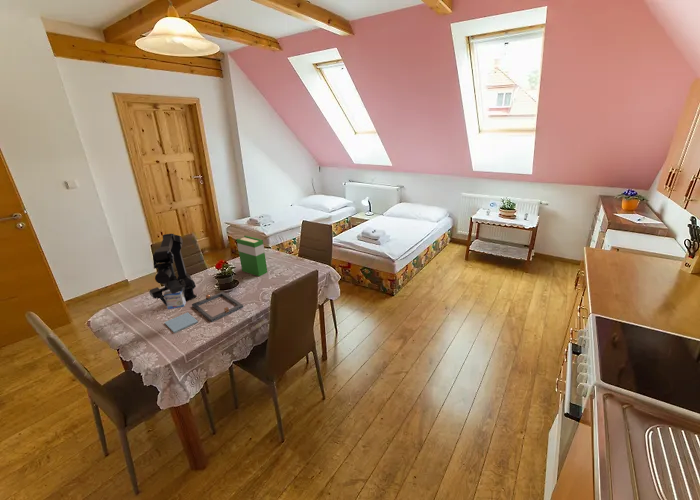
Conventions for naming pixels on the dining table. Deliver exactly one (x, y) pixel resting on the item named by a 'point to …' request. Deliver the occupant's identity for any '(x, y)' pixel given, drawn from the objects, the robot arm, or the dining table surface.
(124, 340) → the dining table surface
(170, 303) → the medicine box
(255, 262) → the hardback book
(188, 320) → the rubber mat
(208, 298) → the grey hollow rectangular frame
